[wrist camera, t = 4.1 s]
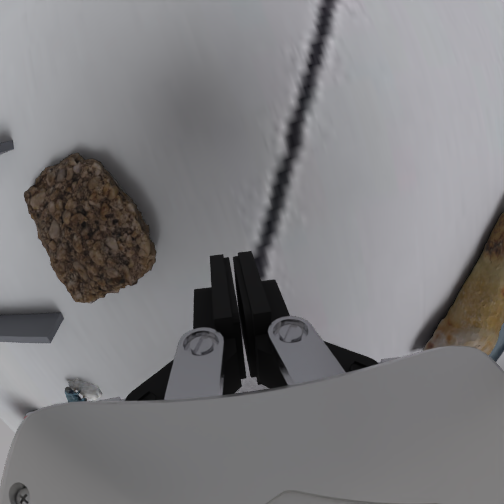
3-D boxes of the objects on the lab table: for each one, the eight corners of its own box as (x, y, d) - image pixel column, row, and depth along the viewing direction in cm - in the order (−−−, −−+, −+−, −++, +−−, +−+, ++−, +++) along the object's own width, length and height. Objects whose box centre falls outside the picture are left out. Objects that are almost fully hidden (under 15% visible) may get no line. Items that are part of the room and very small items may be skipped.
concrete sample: (170, 260, 25) (163, 292, 21) (76, 285, 25) (57, 317, 20) (128, 131, 20) (107, 135, 15) (30, 175, 20) (-2, 189, 15)
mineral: (546, 201, 19) (554, 223, 23) (487, 178, 27) (507, 201, 31) (446, 401, 27) (473, 386, 31) (405, 359, 35) (438, 353, 39)
